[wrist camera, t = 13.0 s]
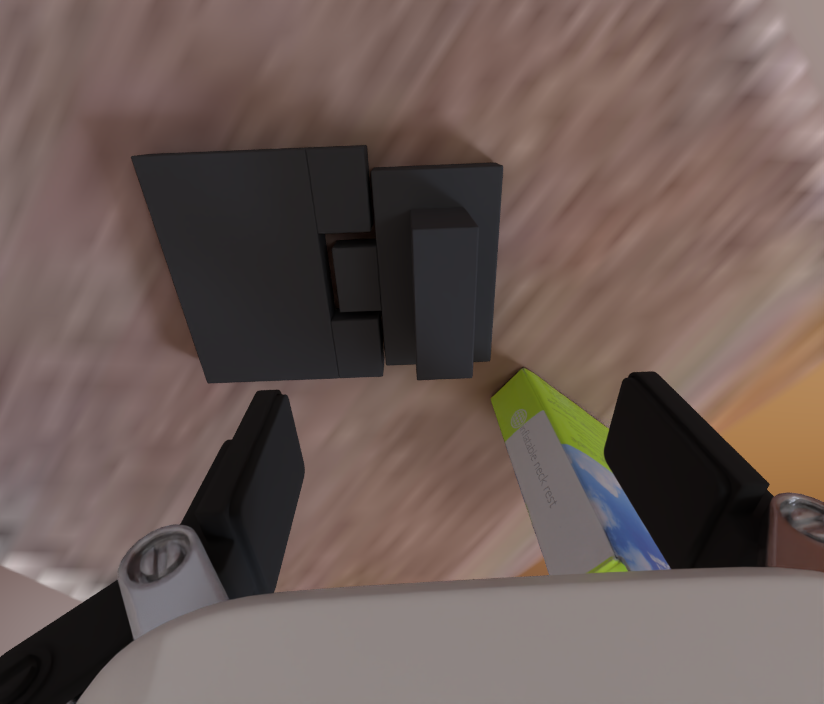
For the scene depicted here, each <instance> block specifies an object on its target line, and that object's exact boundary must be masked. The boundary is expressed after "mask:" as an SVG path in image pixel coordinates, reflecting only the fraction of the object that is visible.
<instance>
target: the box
mask: <svg viewBox="0 0 824 704" xmlns="http://www.w3.org/2000/svg"><path fill="white" fill-rule="evenodd" d="M491 402H492V405H493V408H494V411H495V414H496V417H497V420H498V424H499V427H500V430H501V433H502V436H503V439H504V442H505V445H506V448H507V451H508V454H509V457H510V460H511V463H512V466H513V469H514V472H515V475H516V478H517V481H518V484H519V487H520V490H521V493H522V496H523V499H524V502H525V504H526V507H527V510H528V513H529V516H530V519H531V522H532V525H533V528H534V531H535V534H536V537H537V539H538V543H539V546H540V549H541V551H542V554H543V557H544V560H545V563H546V566H547V569H548V572H549V575H565V574H585V573H606V572H627V571H647V570H668V569H671V568H670V567H669V565H668V564H667V562H666V560H665V559H664V557H663V555H662V554H661V552H660V550H659V549H658V547H657V545H656V544H655V542H654V541H653V539H652V537H651V536H650V534H649V532H648V531H647V529H646V527H645V526H644V524H643V522H642V521H641V519H640V517H639V516H638V514H637V512H636V511H635V509H634V508H633V506H632V504H631V503H630V501H629V499H628V498H627V496H626V494H625V493H624V491H623V489H622V488H621V486H620V484H619V483H618V481H617V479H616V478H615V476H614V474H613V473H612V471H611V470H610V468H609V466H608V465H607V463H606V461H605V458H604V446H605V443H606V439H607V435H608V432H609V429H608V428H607V427H605V426H604V425H603V424H601V423H600V422H599V421H597V420H596V419H594V418H593V417H592V416H590V415H589V414H588V413H587V412H585V411H584V410H583V409H582V408H580V407H579V406H577V405H576V404H575V403H573V402H572V401H571V400H569V399H568V398H566V397H565V396H564V395H562V394H561V393H559V392H558V391H557V390H555V389H554V388H553V387H551V386H550V385H549V384H547V383H546V382H545V381H544V380H542V379H541V378H540V377H538V376H537V375H535V374H534V373H532V372H531V371H529V370H527V369H525V368H522V369H521V370H520V371H519V372H518V373H517V374H516V375H515V376H514V377H513V378H512V379H510V380H509V381H508V382H507V383H506V384H505V385H504V386H503V387H502V388H501V389H500V390H499V391H498V392H497V393H496V394H495V395H494V396H493V397H491Z"/></svg>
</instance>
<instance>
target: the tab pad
mask: <svg viewBox="0 0 824 704" xmlns="http://www.w3.org/2000/svg"><path fill="white" fill-rule="evenodd" d="M502 178H503V166H502V165H500V164H497V163H472V164H448V165H423V166H399V167H375V168H373V170H372V171H371V180H372V193H373V206H374V218H375V231H376V239H359V240H337V241H336V243H335V245H334V246H333V248H332V255H333V262H334V270H335V277H336V285H337V292H338V300H339V307H340V312H357V311H381V310H382V320H383V332H384V345H385V358H386V365H411V364H416V372H417V380H435V379H460V378H472V376H473V362H488V361H490V357H491V342H492V327H493V312H494V297H495V282H496V267H497V252H498V238H499V223H500V208H501V193H502Z"/></svg>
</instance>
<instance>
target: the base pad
mask: <svg viewBox="0 0 824 704" xmlns="http://www.w3.org/2000/svg"><path fill="white" fill-rule="evenodd" d="M131 159H132V162H133V165H134V167H135V170H136V173H137V176H138V179H139V182H140V185H141V188H142V191H143V194H144V197H145V200H146V203H147V206H148V209H149V212H150V215H151V218H152V221H153V224H154V227H155V230H156V232H157V235H158V238H159V241H160V244H161V247H162V250H163V253H164V256H165V259H166V262H167V265H168V268H169V271H170V274H171V277H172V280H173V283H174V286H175V289H176V292H177V295H178V297H179V300H180V303H181V306H182V309H183V312H184V315H185V318H186V321H187V324H188V327H189V330H190V333H191V336H192V339H193V342H194V345H195V348H196V351H197V354H198V357H199V359H200V362H201V365H202V368H203V371H204V374H205V377H206V380H207V383H230V382H255V381H281V380H306V379H332V378H355V377H381V376H383V370H384V353H383V340H382V328H381V315H380V311H357V312H340V309H336V310H335V304H334V297H333V290H332V282H331V275H330V268H329V261H328V254H327V246H326V239H325V234H328V233H353V232H370V231H371V229H372V226H373V216H372V203H371V191H370V178H369V166H368V153H367V146H366V145H357V146H333V147H313V148H312V147H308V148H284V149H259V150H234V151H210V152H185V153H161V154H146V155H137V156H131Z"/></svg>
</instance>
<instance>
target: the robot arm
mask: <svg viewBox="0 0 824 704" xmlns="http://www.w3.org/2000/svg"><path fill="white" fill-rule="evenodd" d="M604 458H605V461H606V463H607V465H608V466H609V468H610V470H611V471H612V473H613V474H614V476H615V478H616V479H617V481H618V483H619V484H620V486H621V488H622V489H623V491H624V493H625V494H626V496H627V498H628V499H629V501H630V503H631V504H632V506H633V508H634V509H635V511H636V512H637V514H638V516H639V517H640V519H641V521H642V522H643V524H644V526H645V527H646V529H647V531H648V532H649V534H650V536H651V537H652V539H653V541H654V542H655V544H656V545H657V547H658V549H659V550H660V552H661V554H662V555H663V557H664V559H665V560H666V562H667V564H668V565H669V567H670V568H671V569H668V570H647V571H627V572H606V573H585V574H565V575H547V576H529V577H509V578H491V579H472V580H454V581H437V582H420V583H403V584H386V585H369V586H352V587H339V588H326V589H313V590H300V591H287V592H277V593H274V591H275V588H276V584H277V580H278V576H279V572H280V569H281V565H282V561H283V557H284V553H285V549H286V545H287V541H288V537H289V534H290V530H291V526H292V522H293V518H294V514H295V510H296V506H297V502H298V499H299V495H300V491H301V487H302V483H303V479H304V473H305V467H304V461H303V457H302V453H301V449H300V444H299V440H298V436H297V432H296V427H295V423H294V419H293V415H292V411H291V406H290V402H289V398H288V396H287V395H282V394H281V392H280V390H261V391H257V392H256V394H255V396H254V398H253V400H252V401H251V403H250V405H249V407H248V409H247V411H246V413H245V415H244V417H243V419H242V421H241V423H240V425H239V427H238V429H237V431H236V433H235V435H234V437H233V439H232V440H227V441H225V442H224V444H223V445H222V447H221V449H220V450H219V452H218V454H217V456H216V458H215V460H214V462H213V464H212V466H211V467H210V469H209V471H208V473H207V475H206V477H205V479H204V481H203V482H202V484H201V486H200V488H199V490H198V492H197V494H196V496H195V498H194V499H193V501H192V503H191V505H190V507H189V509H188V511H187V513H186V515H185V516H184V518H183V520H182V522H181V524H180V525H169V526H165V527H161V528H159V529H157V530H155V531H152V532H150V533H149V534H147V535H146V536H144V537H143V538H141V539H140V540H139V541H137V542H136V543H135V544H134V545H133V546H132V547H131V548H130V549H129V550H128V552H127V553H126V555H125V556H124V557H123V559H122V560H121V563H120V566H119V568H118V580H117V581H115V582H113V583H112V584H110V585H109V586H107V587H106V588H104V589H103V590H101V591H100V592H98V593H97V594H95V595H94V596H92V597H90V598H89V599H87V600H86V601H84V602H83V603H81V604H80V605H78V606H77V607H75V608H74V609H72V610H71V611H69V612H67V613H66V614H64V615H63V616H61V617H60V618H58V619H57V620H55V621H54V622H52V623H51V624H49V625H47V626H46V627H44V628H43V629H41V630H40V631H38V632H37V633H35V634H34V635H32V636H31V637H29V638H27V639H26V640H24V641H23V642H21V643H20V644H18V645H17V646H15V647H14V648H12V649H11V650H9V651H8V652H6V653H5V654H4V655H2V656H1V657H0V704H824V502H822V501H820V500H817V499H815V498H812V497H809V496H805V495H802V494H796V493H781V494H778V495H776V496H775V497H774V496H773V495H772V494H771V493H770V492H769V491H768V490H767V488H768V486H769V483H768V482H767V481H766V480H765V479H764V478H763V477H762V476H761V475H760V474H759V473H758V472H757V471H756V470H755V469H754V468H753V467H752V466H751V465H750V464H749V463H748V462H747V461H746V460H745V459H744V458H743V457H742V456H741V455H740V454H739V453H737V451H736V450H735V449H734V448H733V447H732V446H731V445H729V443H727V442H726V441H725V440H724V439H723V438H722V437H721V436H720V435H719V434H718V433H717V432H716V431H715V430H714V429H713V428H712V427H711V426H710V425H709V424H708V423H707V422H706V421H705V420H704V419H703V418H702V417H701V416H700V415H699V414H698V413H697V412H696V411H695V410H694V409H693V408H692V407H691V406H690V405H689V404H688V403H687V402H686V401H685V400H684V399H683V398H682V397H681V396H680V395H679V394H678V393H677V392H676V391H675V390H674V389H673V388H672V387H671V386H670V385H669V384H668V383H667V382H666V381H665V380H664V379H663V378H662V377H660V376H659V375H658V374H657V373H656V372H652V371H651V372H633V373H631V374H630V375H629V376H628V378H625V379H624V380H623V381H622V384H621V388H620V392H619V395H618V399H617V403H616V406H615V410H614V414H613V417H612V421H611V424H610V428H609V432H608V435H607V439H606V443H605V446H604Z"/></svg>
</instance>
